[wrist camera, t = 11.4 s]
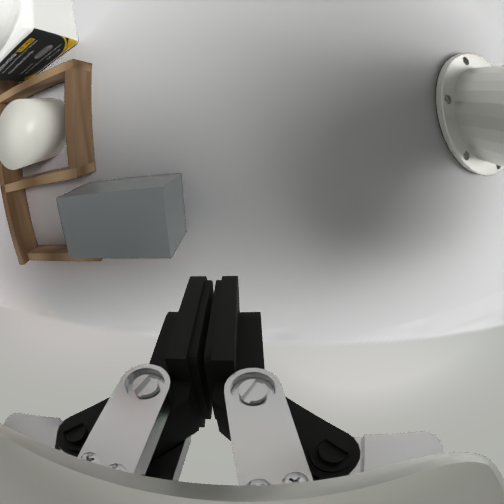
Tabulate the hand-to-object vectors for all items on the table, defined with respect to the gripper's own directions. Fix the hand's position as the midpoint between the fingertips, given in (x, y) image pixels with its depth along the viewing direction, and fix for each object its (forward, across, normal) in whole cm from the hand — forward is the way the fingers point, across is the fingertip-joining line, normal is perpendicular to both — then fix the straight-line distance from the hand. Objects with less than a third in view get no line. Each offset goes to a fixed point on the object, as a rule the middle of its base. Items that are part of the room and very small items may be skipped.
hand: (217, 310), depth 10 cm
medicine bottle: (+14, +18, -19) cm, 30 cm away
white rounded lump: (+14, +18, -9) cm, 24 cm away
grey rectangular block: (+14, +9, 0) cm, 16 cm away
